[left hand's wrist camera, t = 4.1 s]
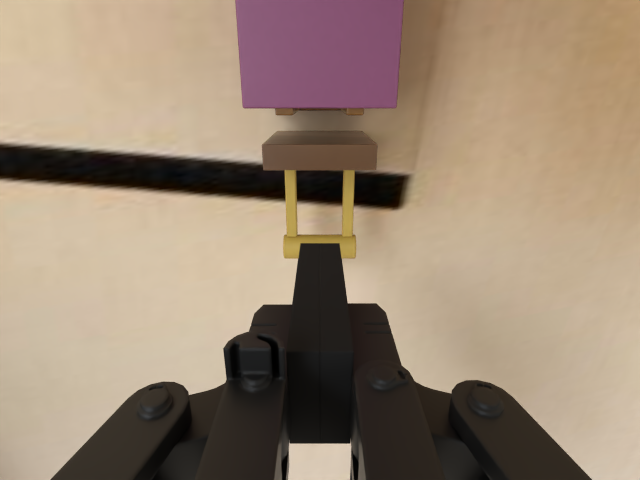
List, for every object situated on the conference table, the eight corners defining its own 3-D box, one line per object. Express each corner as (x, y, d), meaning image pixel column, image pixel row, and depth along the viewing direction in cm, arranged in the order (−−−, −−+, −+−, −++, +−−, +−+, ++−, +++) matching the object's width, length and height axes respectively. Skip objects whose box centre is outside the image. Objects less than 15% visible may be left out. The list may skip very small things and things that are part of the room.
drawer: (358, 238, 26) (370, 284, 20) (281, 238, 26) (269, 284, 20) (373, -166, 19) (400, -296, 12) (265, -166, 19) (238, -296, 12)
